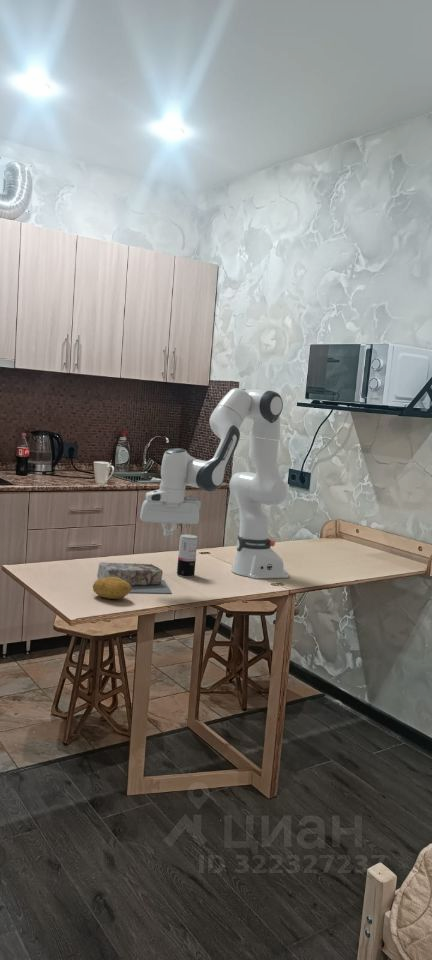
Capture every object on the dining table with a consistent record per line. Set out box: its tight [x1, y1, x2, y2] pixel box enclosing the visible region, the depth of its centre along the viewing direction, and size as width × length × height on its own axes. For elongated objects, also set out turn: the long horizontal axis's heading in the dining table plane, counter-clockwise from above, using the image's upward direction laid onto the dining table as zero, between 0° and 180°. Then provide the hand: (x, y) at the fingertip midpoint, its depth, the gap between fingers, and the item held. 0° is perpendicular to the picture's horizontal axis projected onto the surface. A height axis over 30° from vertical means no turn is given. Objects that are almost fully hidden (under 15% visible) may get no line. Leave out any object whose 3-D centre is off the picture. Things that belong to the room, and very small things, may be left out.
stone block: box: [97, 561, 164, 586], centre depth 248 cm, size 13×7×20 cm
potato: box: [92, 577, 131, 600], centre depth 228 cm, size 9×13×7 cm
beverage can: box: [176, 533, 198, 578], centre depth 264 cm, size 6×6×15 cm
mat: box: [129, 579, 173, 595], centre depth 244 cm, size 19×16×1 cm
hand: (168, 535), depth 244 cm, fingers closed
